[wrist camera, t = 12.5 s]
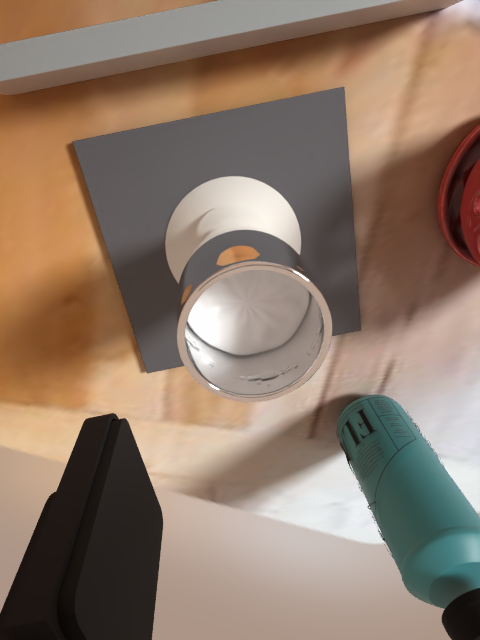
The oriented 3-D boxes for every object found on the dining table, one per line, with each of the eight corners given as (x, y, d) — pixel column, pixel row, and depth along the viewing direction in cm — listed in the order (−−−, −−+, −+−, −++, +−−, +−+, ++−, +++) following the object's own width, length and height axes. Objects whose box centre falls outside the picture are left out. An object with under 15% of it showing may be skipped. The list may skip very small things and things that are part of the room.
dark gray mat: (341, 87, 29) (344, 86, 28) (358, 327, 36) (361, 330, 36) (74, 141, 29) (71, 141, 28) (148, 369, 36) (147, 374, 36)
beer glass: (243, 306, 34) (272, 430, 20) (166, 259, 32) (139, 360, 18) (298, 233, 32) (371, 315, 18) (219, 176, 30) (234, 221, 16)
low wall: (446, -22, 27) (510, -59, 21) (446, 7, 27) (508, -21, 22) (0, 68, 27) (-51, 54, 21) (10, 95, 27) (-37, 88, 22)
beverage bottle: (347, 375, 38) (480, 604, 20) (411, 392, 39) (591, 621, 21) (318, 432, 40) (414, 683, 22) (380, 446, 42) (518, 693, 24)
